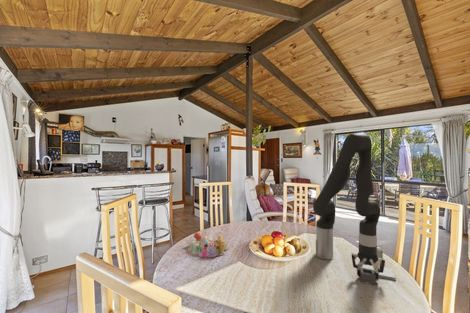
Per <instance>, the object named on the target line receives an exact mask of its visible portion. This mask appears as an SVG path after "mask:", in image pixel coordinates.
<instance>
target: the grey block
mask: <svg viewBox="0 0 470 313" xmlns="http://www.w3.org/2000/svg"><path fill="white" fill-rule="evenodd" d="M360 270H361V271H360V277H359V279H360V282H361V283H364V284H369V285H370V284H371V285H376V284H377V282H376V275H375V272H374V270H372V269H366V268H361V269H360Z"/></svg>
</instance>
